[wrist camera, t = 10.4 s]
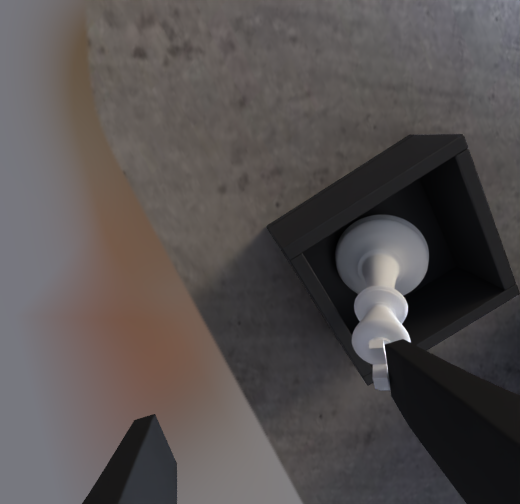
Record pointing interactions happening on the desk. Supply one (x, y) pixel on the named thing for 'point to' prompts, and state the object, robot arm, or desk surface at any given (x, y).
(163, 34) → the desk surface
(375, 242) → the chess piece
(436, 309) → the black bin
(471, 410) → the robot arm
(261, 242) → the desk surface
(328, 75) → the desk surface
